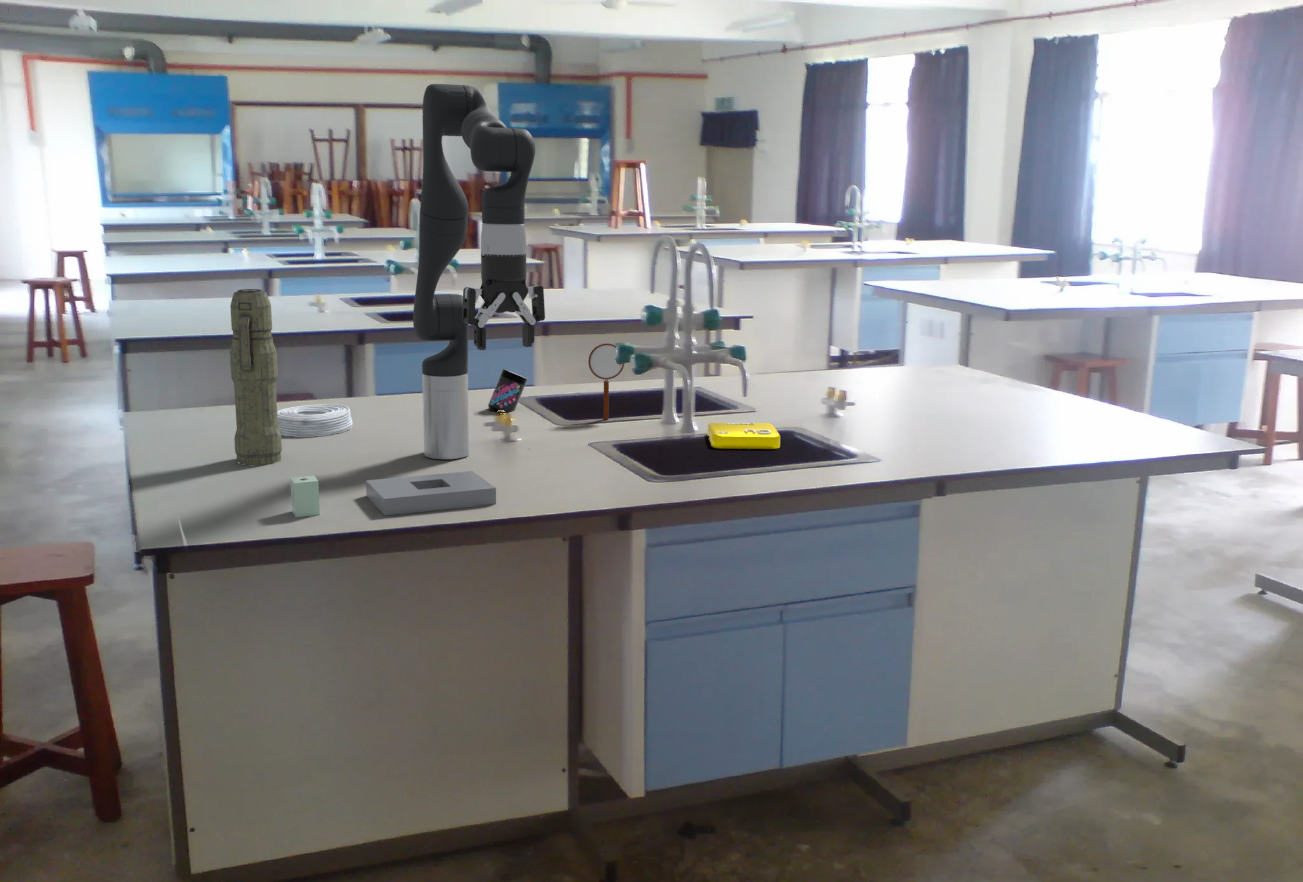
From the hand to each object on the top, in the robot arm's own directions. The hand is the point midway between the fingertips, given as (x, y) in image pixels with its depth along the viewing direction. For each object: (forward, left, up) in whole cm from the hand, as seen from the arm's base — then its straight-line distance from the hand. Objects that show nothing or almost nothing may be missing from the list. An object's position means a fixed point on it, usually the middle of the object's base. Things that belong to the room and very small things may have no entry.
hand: (504, 348), depth 198 cm
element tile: (-32, +67, -30) cm, 80 cm away
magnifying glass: (-64, +47, -29) cm, 84 cm away
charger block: (-13, -32, -29) cm, 45 cm away
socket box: (-13, -10, -29) cm, 33 cm away
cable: (-79, -19, -29) cm, 87 cm away
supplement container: (-84, +29, -29) cm, 93 cm away
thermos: (-54, -34, -29) cm, 70 cm away
